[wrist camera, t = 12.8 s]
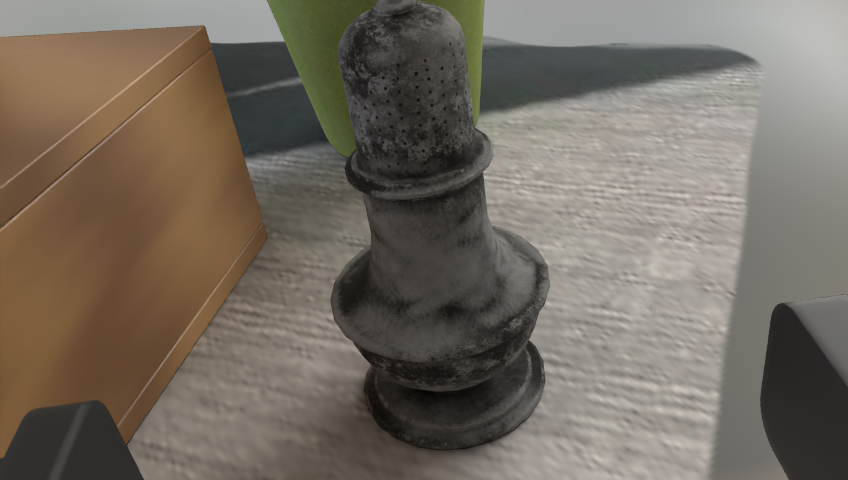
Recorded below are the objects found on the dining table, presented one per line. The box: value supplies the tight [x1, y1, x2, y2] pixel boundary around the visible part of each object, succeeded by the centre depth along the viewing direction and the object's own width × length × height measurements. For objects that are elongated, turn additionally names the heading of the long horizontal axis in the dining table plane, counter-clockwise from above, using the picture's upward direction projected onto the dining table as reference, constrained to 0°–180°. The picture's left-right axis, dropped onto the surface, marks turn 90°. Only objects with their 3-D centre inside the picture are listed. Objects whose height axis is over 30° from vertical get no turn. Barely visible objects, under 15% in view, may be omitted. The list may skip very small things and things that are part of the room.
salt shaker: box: [330, 0, 550, 449], centre depth 20 cm, size 6×6×12 cm
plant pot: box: [267, 0, 484, 158], centre depth 34 cm, size 12×12×11 cm
